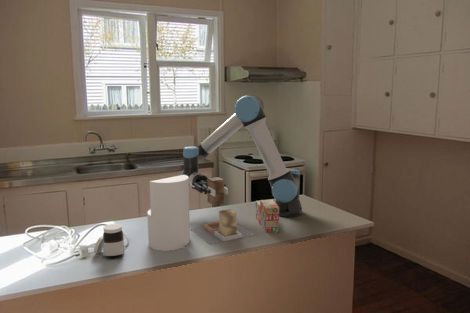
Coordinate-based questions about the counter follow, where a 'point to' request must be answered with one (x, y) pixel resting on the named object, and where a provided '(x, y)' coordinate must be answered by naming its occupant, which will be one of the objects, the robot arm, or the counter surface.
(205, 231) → the board
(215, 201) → the walnut pillar
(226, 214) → the oak pillar
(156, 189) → the cylinder
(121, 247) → the spread jar
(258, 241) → the counter surface
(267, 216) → the stack of blocks
